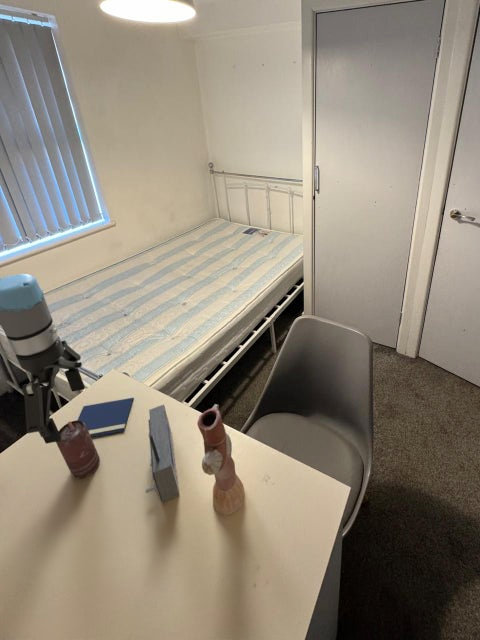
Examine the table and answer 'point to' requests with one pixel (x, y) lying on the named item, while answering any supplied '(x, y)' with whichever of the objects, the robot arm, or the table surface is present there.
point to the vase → (220, 462)
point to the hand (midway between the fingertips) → (67, 413)
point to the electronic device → (162, 455)
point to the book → (106, 417)
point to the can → (78, 449)
